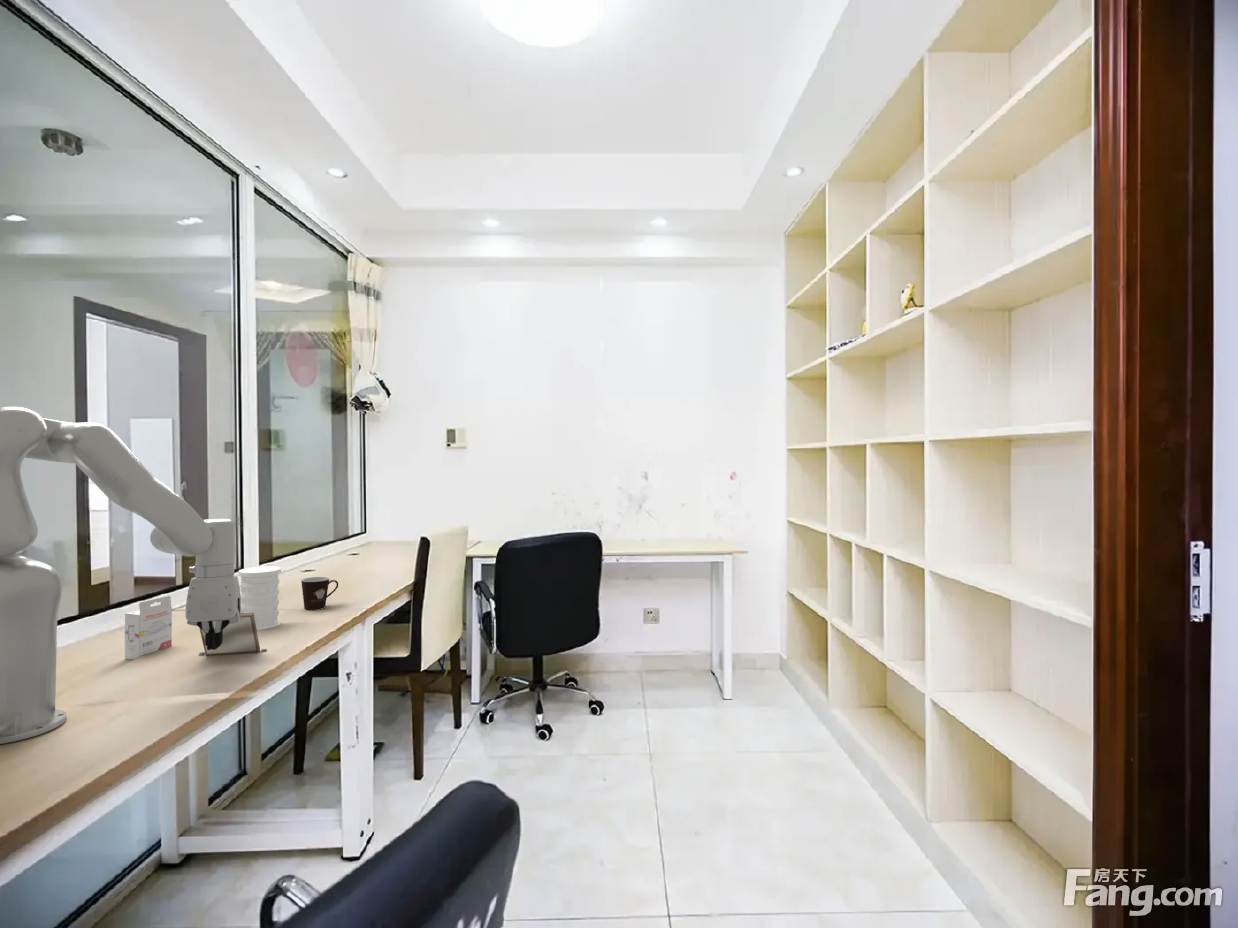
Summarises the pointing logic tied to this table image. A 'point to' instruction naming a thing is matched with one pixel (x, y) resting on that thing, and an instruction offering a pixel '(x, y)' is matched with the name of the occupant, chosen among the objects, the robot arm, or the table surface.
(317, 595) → the coffee mug
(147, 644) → the ink cartridge box
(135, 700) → the table surface
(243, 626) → the flap
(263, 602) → the decorative container
